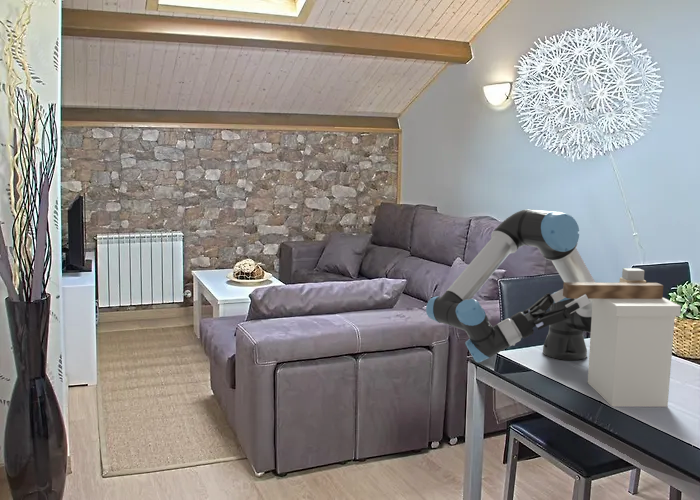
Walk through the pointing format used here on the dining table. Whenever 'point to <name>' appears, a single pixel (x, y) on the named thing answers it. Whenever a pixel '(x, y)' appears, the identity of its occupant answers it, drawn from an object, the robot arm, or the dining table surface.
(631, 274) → the grey offcut
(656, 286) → the walnut block
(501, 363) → the dining table surface
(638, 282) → the birch offcut
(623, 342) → the cream stand
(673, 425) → the dining table surface
